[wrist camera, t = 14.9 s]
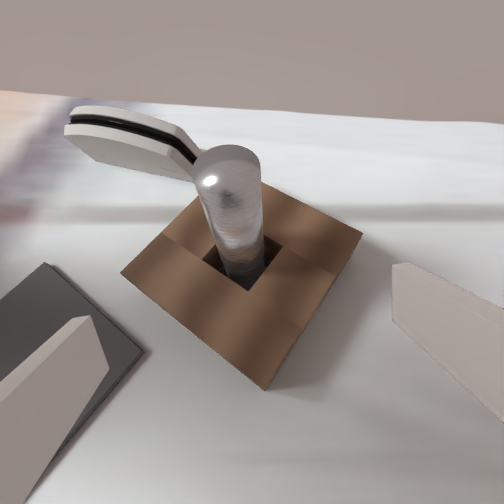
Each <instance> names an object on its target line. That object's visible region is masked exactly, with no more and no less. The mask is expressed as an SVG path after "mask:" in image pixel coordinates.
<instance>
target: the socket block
mask: <svg viewBox="0 0 504 504" xmlns="http://www.w3.org/2000/svg"><path fill="white" fill-rule="evenodd" d="M261 193H262V215H263V237H264V257H266V258H267V259H269V260H271V261H272V262H271V263H270V264H269V266H268V267H267V268H266V270H265V271H264V272H263V273H262V275H261V276H260V277H259V279H258V280H257V281H256V283H255V284H254V285H253V286H252V288H251V289H250V290H249V292H248V291H247V290H245V289H244V288H242V287H241V286H239V285H238V284H236V283H235V282H233V281H232V280H230V279H229V278H228V277H226V276H225V275H223V274H222V273H220V272H219V271H218V270H219V269H220V268H221V266H222V265H223V263H222V260H221V258H220V255H219V252H218V249H217V246H216V243H215V241H214V238H213V235H212V232H211V229H210V226H209V223H208V221H207V218H206V215H205V212H204V209H203V206H202V204H201V201H200V198H199V196H198V197H197V198H196V199H195V200H194V201H192V202H191V203H190V204H189V205H188V206H187V207H186V208H185V209H184V210H183V211H182V212H181V213H180V214H179V215H178V216H177V217H176V218H175V219H174V220H173V221H172V222H171V223H170V224H169V225H168V226H167V227H166V228H165V229H164V230H163V231H162V232H161V233H160V234H159V235H158V236H157V237H156V238H155V239H154V240H153V241H152V242H151V243H150V244H149V245H148V246H147V247H146V248H145V249H144V250H143V251H142V252H141V253H140V254H139V255H138V256H137V257H136V258H135V259H134V260H133V261H131V262H130V263H129V264H128V265H127V266H126V267H125V268H124V269H123V270H122V271H121V272H120V273H121V274H122V275H123V276H124V277H125V278H126V279H128V280H129V281H130V282H131V283H132V284H133V285H135V286H136V287H137V288H138V289H139V290H141V291H142V292H143V293H144V294H145V295H147V296H148V297H149V298H150V299H152V300H153V301H154V302H155V303H157V304H158V305H159V306H160V307H162V308H163V309H164V310H165V311H166V312H168V313H169V314H170V315H171V316H173V317H174V318H175V319H176V320H178V321H179V322H180V323H181V324H182V325H184V326H185V327H186V328H187V329H189V330H190V331H191V332H192V333H194V334H195V335H196V336H197V337H199V338H200V339H201V340H202V341H203V342H205V343H206V344H207V345H208V346H210V347H211V348H212V349H213V350H215V351H216V352H217V353H218V354H219V355H221V356H222V357H223V358H224V359H226V360H227V361H228V362H229V363H231V364H232V365H233V366H234V367H236V368H237V369H238V370H239V371H240V372H242V373H243V374H244V375H245V376H247V377H248V378H249V379H250V380H252V381H253V382H254V383H255V384H257V385H258V386H259V387H260V388H261V389H263V390H264V391H265V390H266V388H267V387H268V385H269V384H270V382H271V381H272V379H273V377H274V376H275V374H276V373H277V371H278V370H279V368H280V366H281V365H282V363H283V362H284V360H285V359H286V357H287V355H288V354H289V352H290V351H291V349H292V348H293V346H294V344H295V343H296V341H297V340H298V338H299V337H300V335H301V333H302V332H303V330H304V329H305V327H306V326H307V324H308V322H309V321H310V319H311V318H312V316H313V315H314V313H315V311H316V310H317V308H318V307H319V305H320V304H321V302H322V300H323V299H324V297H325V296H326V294H327V293H328V291H329V289H330V288H331V286H332V285H333V283H334V282H335V280H336V278H337V277H338V275H339V274H340V272H341V271H342V269H343V267H344V266H345V264H346V263H347V261H348V260H349V258H350V256H351V255H352V253H353V251H354V249H355V247H356V245H357V244H358V242H359V240H360V238H361V236H362V234H363V233H362V232H360V231H358V230H356V229H354V228H352V227H350V226H348V225H346V224H344V223H342V222H340V221H338V220H336V219H334V218H332V217H330V216H328V215H326V214H324V213H322V212H320V211H318V210H316V209H314V208H312V207H310V206H308V205H306V204H304V203H302V202H300V201H298V200H296V199H294V198H292V197H290V196H288V195H286V194H284V193H282V192H280V191H279V190H277V189H275V188H273V187H271V186H269V185H267V184H265V183H263V182H261Z"/></svg>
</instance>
